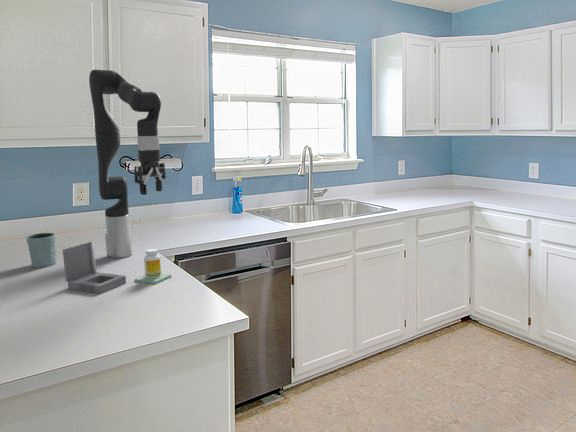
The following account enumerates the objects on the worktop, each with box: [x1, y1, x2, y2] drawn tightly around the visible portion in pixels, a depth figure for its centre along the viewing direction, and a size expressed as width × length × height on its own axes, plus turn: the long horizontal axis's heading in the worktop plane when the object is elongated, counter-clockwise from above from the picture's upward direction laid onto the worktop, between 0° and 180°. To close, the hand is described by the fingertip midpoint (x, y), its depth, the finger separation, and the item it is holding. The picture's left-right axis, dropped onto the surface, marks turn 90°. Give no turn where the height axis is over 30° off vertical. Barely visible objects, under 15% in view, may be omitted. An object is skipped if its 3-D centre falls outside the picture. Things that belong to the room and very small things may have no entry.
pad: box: [134, 272, 172, 285], centre depth 174 cm, size 9×9×1 cm
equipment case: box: [62, 241, 127, 295], centre depth 167 cm, size 15×12×14 cm
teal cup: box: [26, 232, 57, 269], centre depth 195 cm, size 10×10×12 cm
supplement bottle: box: [143, 248, 162, 278], centre depth 174 cm, size 5×5×10 cm
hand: (151, 192), depth 182 cm, fingers open, 8 cm apart
